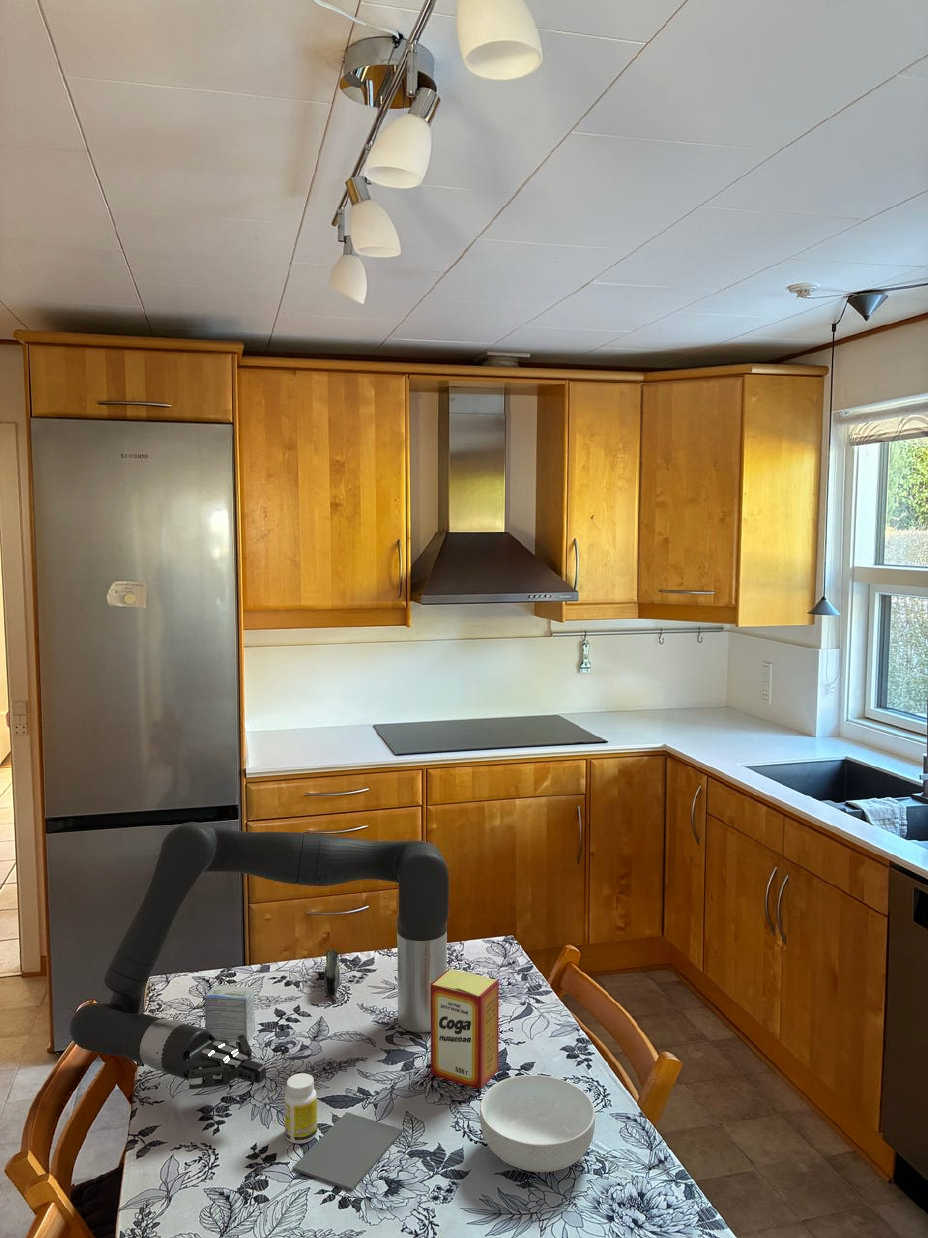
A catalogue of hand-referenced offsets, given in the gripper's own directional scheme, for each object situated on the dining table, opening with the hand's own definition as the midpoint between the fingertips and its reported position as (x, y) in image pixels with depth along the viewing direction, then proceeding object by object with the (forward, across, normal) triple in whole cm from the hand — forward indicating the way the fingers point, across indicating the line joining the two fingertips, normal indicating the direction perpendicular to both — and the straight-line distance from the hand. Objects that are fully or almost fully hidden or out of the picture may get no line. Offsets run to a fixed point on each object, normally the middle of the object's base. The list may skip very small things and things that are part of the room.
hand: (262, 1074), depth 136 cm
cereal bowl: (+40, +11, +8) cm, 43 cm away
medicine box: (-21, +17, +8) cm, 28 cm away
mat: (+16, 0, +8) cm, 17 cm away
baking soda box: (+22, +25, +8) cm, 35 cm away
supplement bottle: (+7, 0, +8) cm, 10 cm away
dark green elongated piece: (-16, +42, +8) cm, 45 cm away
